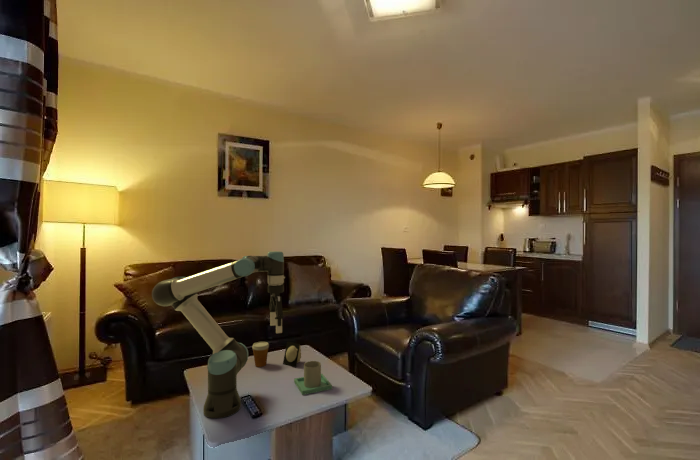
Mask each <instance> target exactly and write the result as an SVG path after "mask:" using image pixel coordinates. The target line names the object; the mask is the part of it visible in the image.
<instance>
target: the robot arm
mask: <svg viewBox="0 0 700 460" xmlns="http://www.w3.org/2000/svg"><path fill="white" fill-rule="evenodd" d="M259 272H263V273H265V272H267V284H268V285H267V293H269V294H270V299H269V306H268V307H269V315H270V317H269V319H270V320H269V323H270V324H269V326H271V327H272V326H273V327H274V326H275V334H282V333H283V319H284V311H283V302H282V301H283V300H282V299H283V298H282V296H281V294H282V293H284V292H285V284H284V283H285V279H286V276H285V259H284V252H283V251H268V252H267V254H266V255H244V256H242V258H240V259H237V260H235V261H232V262H229V263H226V264H223V265H220V266H216V267H213V268H211V269H207V270H204V271H201V272H198V273H196V274H193V275H189V276H187V277H186V276H176V277H172V278H170V279H165V280H162V281H159V282H158V283H156V284H155V285H154V287H153V288H152V290H151V297H152V300H153V302H154V304H156V305H158V306H160V307H169V306H171V307H172V308H173V309H174V311H177V312H181V313H182V314H183V316H184V317H185V318H186V319H187V320H188V322H189V323H190V324H191V325H192V326H193V328H194V329H195V330H196V332H197V333H198V334H199V335H200V337H201V338H202V339H203V340H204V341H205V342H206V344H207V345H208V347H210V349H211V350H212V354H211V355H210V356H209V358H208V360H207V367H206V368H207V395H206V398H205V402H204V404H203V410H202V411H203V416H205V418H210V419H223V418H227V417H230V416H233V415H234V414H236V413H237V412H239V410H241V407H242V406H241V405H242V401H241V397H240V395H239V391H238V388H237V387H238V386H237V382H238V381H237V376H238V374H239V373H240V371H241V370H242V369H243V368H244V367H245V365H246V364H247V362H248V359H249V350H248V347H247V346H246V345H245V344H243V343H242V342H238V341H236V339H235V338H234V337H229V336H228V335H227V334H226V333H225V331H224V330H223V329H222V327H221V326H220V325H219V324H218V323H217V322H216V320H215V319H214V318H213V317H212V315H211V314H210V313H209V312H208V311H207V309H206V308H205V307H204V306H203V305H202V302H200V301H199V299H198V296H199V294H198V293H199V292H201V291H205V290H207V289H210V288H213V287H217V286H219V285H222V284H226V283H228V282H231V281H234V280H238V279H239V278H243V277H248V276H250V275H251V274H254V273H259Z"/></svg>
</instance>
